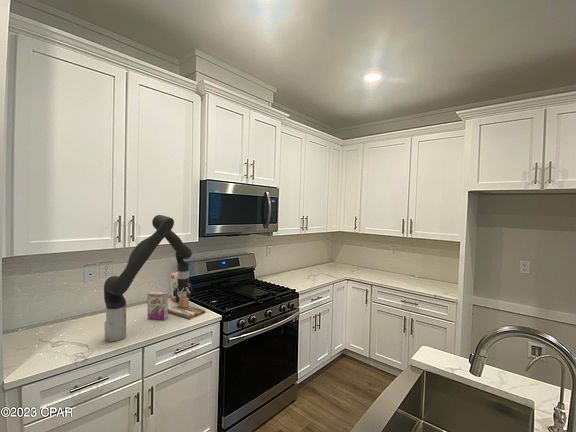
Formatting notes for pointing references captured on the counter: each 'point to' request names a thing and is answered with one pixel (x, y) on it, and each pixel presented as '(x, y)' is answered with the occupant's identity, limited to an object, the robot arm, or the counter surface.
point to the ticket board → (186, 312)
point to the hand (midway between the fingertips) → (182, 300)
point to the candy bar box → (157, 305)
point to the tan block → (183, 302)
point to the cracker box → (174, 284)
